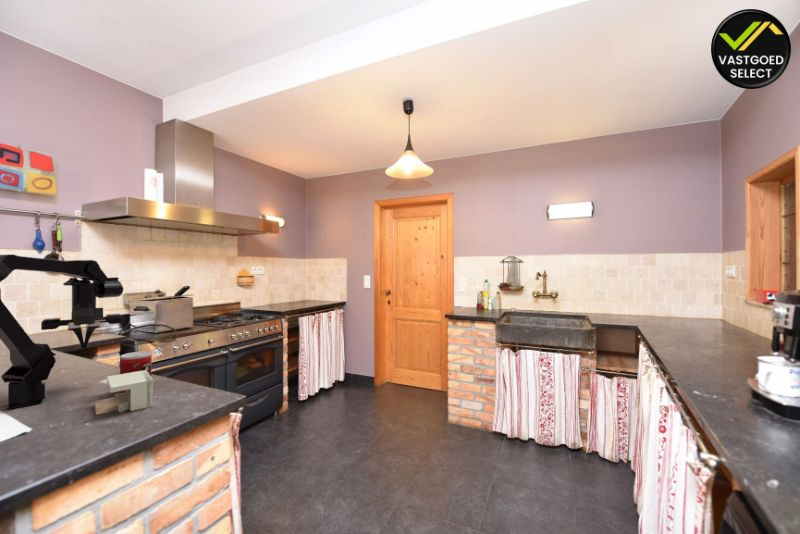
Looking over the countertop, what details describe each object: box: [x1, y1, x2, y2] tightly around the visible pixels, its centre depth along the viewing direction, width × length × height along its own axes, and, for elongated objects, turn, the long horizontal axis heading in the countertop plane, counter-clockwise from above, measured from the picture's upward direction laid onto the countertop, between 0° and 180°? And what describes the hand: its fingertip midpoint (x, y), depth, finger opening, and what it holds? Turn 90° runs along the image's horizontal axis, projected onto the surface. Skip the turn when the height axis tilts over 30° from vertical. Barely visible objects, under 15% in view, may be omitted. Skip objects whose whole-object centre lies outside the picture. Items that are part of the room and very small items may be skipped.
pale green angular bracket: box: [106, 370, 154, 413], centre depth 95 cm, size 9×13×7 cm
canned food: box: [119, 350, 153, 393], centre depth 106 cm, size 8×8×11 cm
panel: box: [94, 394, 130, 415], centre depth 94 cm, size 10×6×2 cm, turn 134°
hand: (84, 348), depth 109 cm, fingers closed
